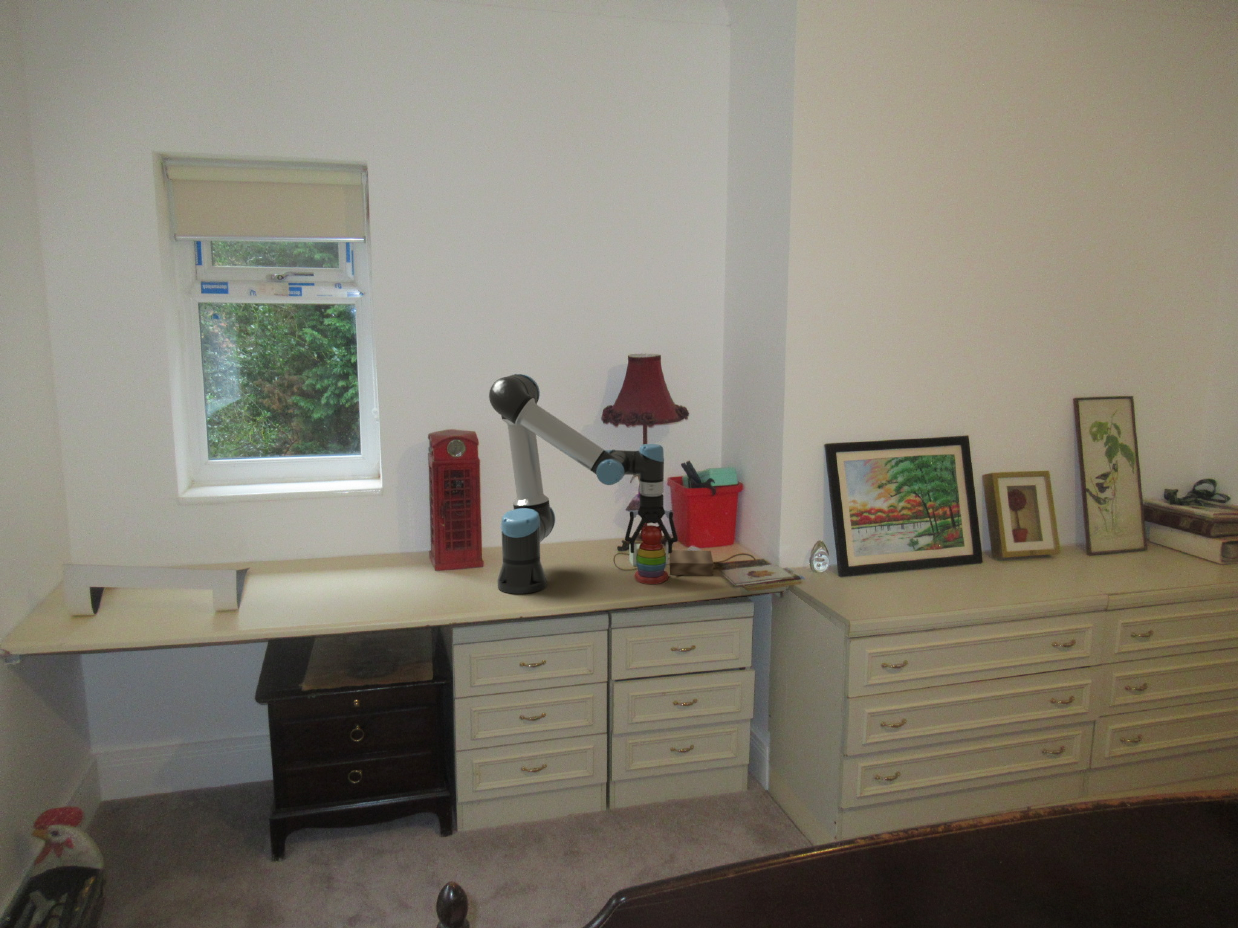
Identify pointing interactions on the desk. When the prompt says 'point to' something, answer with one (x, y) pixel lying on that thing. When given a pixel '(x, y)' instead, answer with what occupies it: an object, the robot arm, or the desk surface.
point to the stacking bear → (651, 557)
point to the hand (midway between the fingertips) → (651, 562)
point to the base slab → (690, 562)
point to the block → (631, 555)
